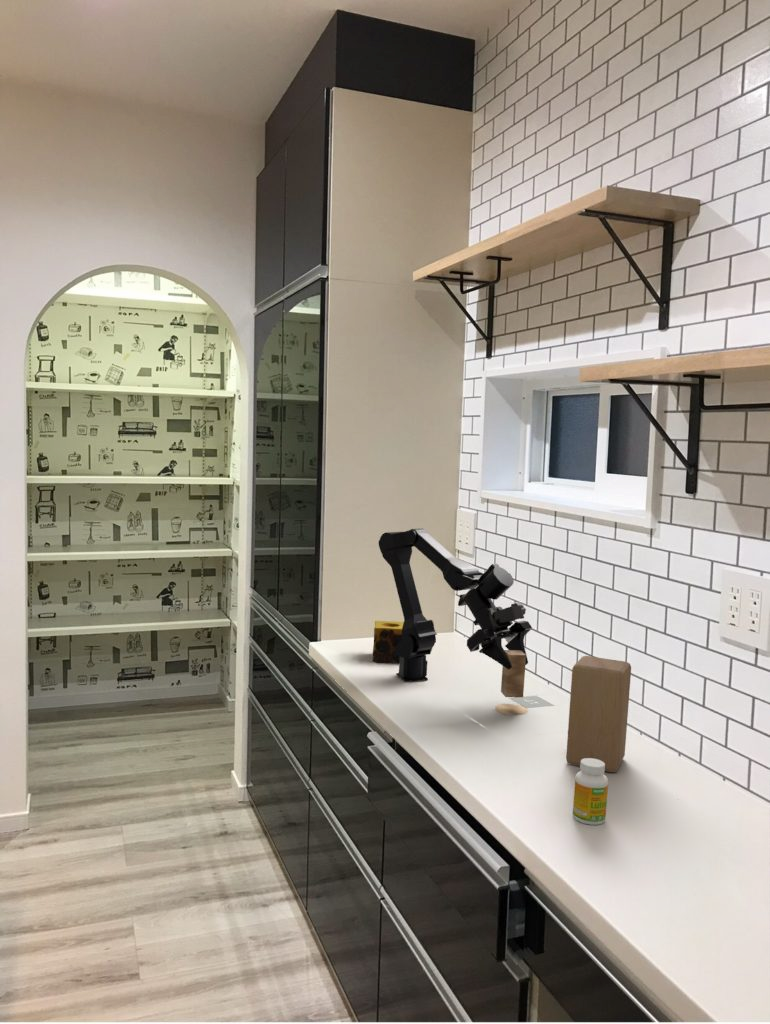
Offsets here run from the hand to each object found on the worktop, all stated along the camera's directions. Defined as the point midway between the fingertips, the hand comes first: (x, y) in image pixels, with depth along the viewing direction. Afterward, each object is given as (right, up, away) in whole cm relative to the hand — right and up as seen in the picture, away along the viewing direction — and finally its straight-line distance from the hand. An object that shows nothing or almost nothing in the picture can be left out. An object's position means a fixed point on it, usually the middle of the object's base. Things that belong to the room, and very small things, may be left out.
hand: (518, 666), depth 194 cm
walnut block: (-1, -7, +2) cm, 7 cm away
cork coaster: (-1, -11, +2) cm, 11 cm away
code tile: (+4, -10, +9) cm, 14 cm away
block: (+11, -14, -28) cm, 33 cm away
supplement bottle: (+3, -16, -53) cm, 56 cm away
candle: (-30, -6, +43) cm, 53 cm away
